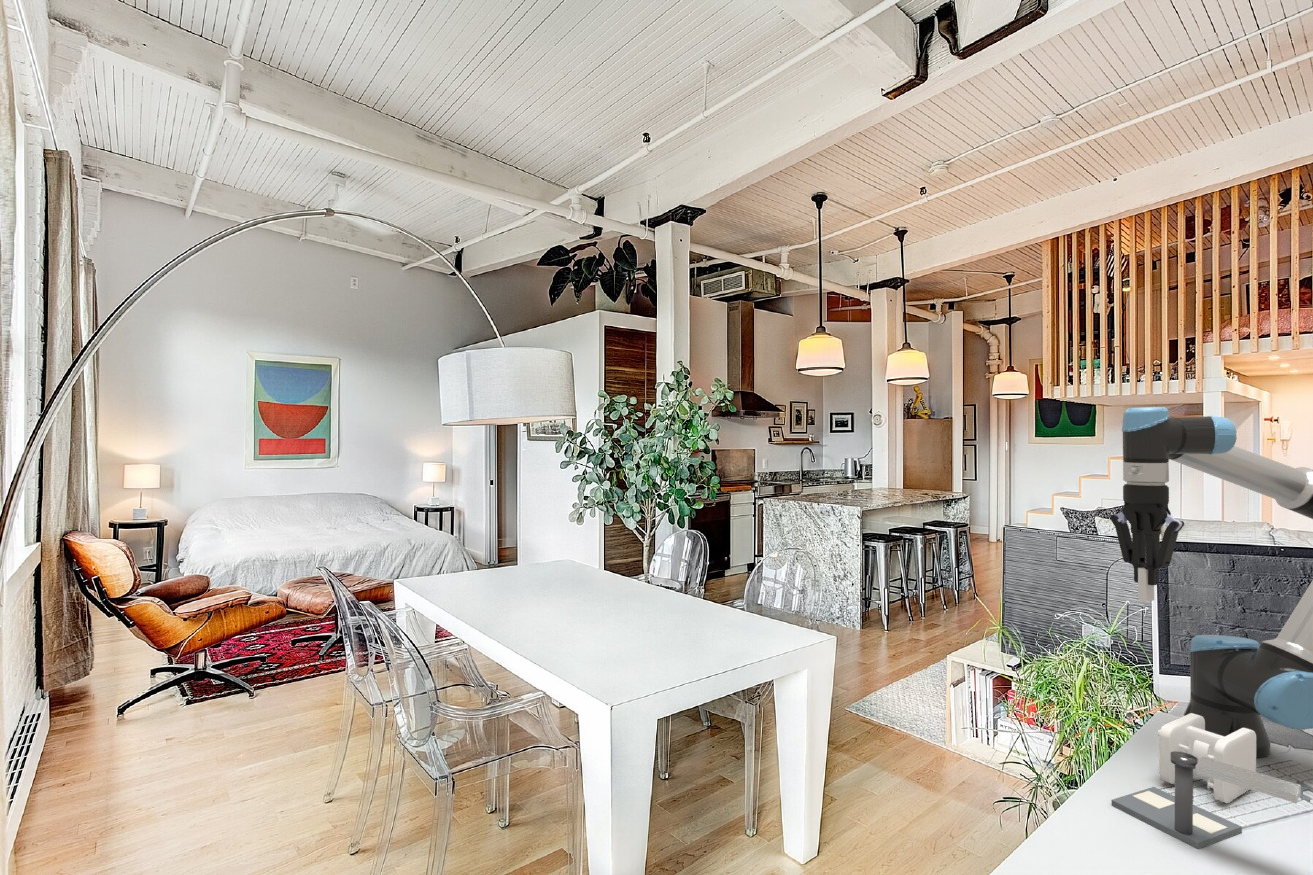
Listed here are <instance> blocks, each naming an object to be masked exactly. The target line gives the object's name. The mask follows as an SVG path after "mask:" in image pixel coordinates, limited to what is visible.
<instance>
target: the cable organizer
mask: <svg viewBox="0 0 1313 875" xmlns="http://www.w3.org/2000/svg"><path fill="white" fill-rule="evenodd" d="M1157 737H1158V738H1159V740H1158V741H1159V742H1158V748H1159V749H1158V750H1159V752H1158V754H1159V755H1158V758H1159V759H1158V761H1159V763H1158V775H1159V779H1160V780H1161V781H1164V782H1166V783H1169V784H1171V785H1175V764H1173V763H1172V762H1171V761H1170V753H1171V752H1174V751H1178V752H1184V753H1188V754H1191V755H1193V756H1195V757H1196V758H1197V759H1198V762H1199V760H1200V759H1201V758H1202V757H1205V758H1209V759H1212V760H1216V761H1219V762H1223V763H1226V764H1230V765H1233V766H1237V767H1240V768H1243V769H1247V770H1250V771H1254V772H1257V757H1256V733H1255V731H1253V730H1250V729H1247V728H1241V729H1239V730H1237V731H1235V732H1233V733H1231V734H1229V735H1227V736H1225V737H1224V736H1221V735H1218V734H1215V733H1212V732H1208V731H1205V720H1204V718H1203V717H1202V716H1200V715H1196V714H1193V713H1190V714H1188V715H1185V716H1183V715H1182V716H1181V717H1178V718H1177V719H1173V720H1172V721H1169V722H1167V723H1165V724H1163V725H1162V726H1160V729H1158V730H1157ZM1194 777H1195V778H1197V779H1200V780H1203V781H1204V782H1207V786H1206V787H1207V788H1206V789H1207V790H1209V791H1210V790H1211V789H1213V796H1214V799H1216V800H1217V801H1219V802H1222V803H1223V802H1225V803H1228V802H1229V803H1231V802H1232V801H1234V800H1235V799H1236V798H1238V797H1240V796H1242V795H1244V794H1246V793H1247V792H1249V791H1250V790H1251V789H1248V788H1244V787H1241V786H1238V785H1235V784H1231V783H1228V782H1225V781H1221V780H1218V779H1215V778H1212V777H1208V776H1205V775H1202V774H1199V773H1196V769H1193V778H1194ZM1248 790H1249V791H1248ZM1246 791H1247V792H1246ZM1245 792H1246V793H1245ZM1243 793H1244V794H1243ZM1233 799H1234V800H1233ZM1230 801H1231V802H1230ZM1225 803H1224V804H1225ZM1229 803H1228V804H1229Z"/></svg>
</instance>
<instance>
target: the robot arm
mask: <svg viewBox="0 0 1313 875" xmlns="http://www.w3.org/2000/svg"><path fill="white" fill-rule="evenodd" d="M1121 432H1122V467H1123V468H1122V480H1123V481H1124V482H1126V483H1125V484H1124V485H1122V498H1123V499H1122V500H1123V506H1122V508H1121V511H1120V512H1119V513H1117V514H1111V515H1110V516H1109V519H1110V521H1111V522H1112V524H1113V526H1114V527H1115V528H1114V529H1115V532H1116V536H1117V539H1118V543H1119V547H1120V548H1119V549H1120V551H1121V556H1122V559H1123V561H1124V563H1128V564H1130V565H1132V567H1133V580H1134V583H1137V588H1138V589H1137V596H1138V597H1137V601H1140V602H1151V601H1155V586H1158V584H1159V570H1160V569H1162V568H1167V567H1169V566H1170V565H1171V560H1172V558H1173V554H1174V551H1175V547H1176V543H1177V539H1178V536H1179V533H1180V531H1181V530H1182V528H1184V526H1185V522H1184V521H1183V520H1178V519H1176V518H1175V517H1174V516H1172V515H1171V514H1172V513H1171V511H1170V509H1169V503H1170V487H1169V485H1166V484H1167V483H1168V482H1170V471H1169V470H1170V469H1169V466H1170V465H1169V463H1170V462H1169V461H1170V460H1171V461H1172V462H1176V463H1179V464H1181V465H1184V466H1187V467H1189V468H1192V469H1194V470H1197V471H1200V472H1202V473H1205V474H1208V475H1210V476H1212V477H1214V478H1215V477H1216V478H1218V479H1221V480H1223V481H1226V482H1228V483H1232V484H1234V485H1237V486H1239V487H1242V488H1243V489H1248V490H1250V491H1252V492H1256V494H1257V493H1258V494H1260V495H1264V496H1266V497H1269V498H1271V499H1273V500H1275V502H1276V504H1277V505H1279V506H1280V507H1281V508H1283V509H1287V510H1290V511H1292V512H1294V513H1297V514H1299V515H1302V516H1304V517H1307V518H1309V519H1312V520H1313V469H1311V468H1309V467H1305V466H1301V467H1300V466H1299V467H1292V466H1289V465H1287V464H1284V463H1282V462H1279V461H1276V460H1273V459H1270V458H1268V457H1265V456H1262V455H1260V454H1257V453H1254V452H1252V451H1249V450H1247V449H1244V448H1241V447H1238V446H1235V445H1236V442H1237V428H1236V426H1235V423H1234V422H1232V420H1230V419H1229V418H1226V417H1223V416H1213V415H1208V416H1179V417H1178V416H1175V417H1174V416H1170V413H1169V409H1168V408H1167V407H1165V406H1160V407H1159V406H1156V407H1155V406H1154V407H1153V406H1152V407H1150V406H1148V407H1141V406H1140V407H1129V408H1127V409H1125V410H1124V412H1123V418H1122V428H1121ZM1128 522H1129V524H1130V526H1129V524H1128ZM1164 525H1165V530H1164V531H1163V536H1162V539H1160V536H1161V533H1162V527H1163V526H1164ZM1129 527H1130V528H1129ZM1131 533H1132V535H1131ZM1160 540H1161V541H1160ZM1160 543H1161V544H1160ZM1189 654H1190V657H1189V658H1190V659H1189V661H1190V666H1189V667H1190V670H1189V671H1190V683H1189V684H1190V687H1189V688H1190V689H1189V690H1190V699H1189V702H1188V704H1187V707H1186V708H1185V711H1184V713H1183V715H1182V717H1183V716H1185V715H1188V714H1190V713H1193V714H1196V715H1200V716H1202V717H1203V718H1204V720H1205V731H1208V732H1212V733H1215V734H1218V735H1221V736H1224V737H1225V736H1227V735H1229V734H1231V733H1233V732H1235V731H1237V730H1239V729H1241V728H1247V729H1250V730H1253V731H1255V733H1256V758H1262V757H1263V758H1264V757H1267V756H1269V755H1271V740H1270V737H1269V734H1268V732H1267V730H1266V727H1265V724H1264V722H1263V719H1262V718H1264V719H1266V720H1268V721H1270V722H1272V723H1274V724H1278V725H1280V726H1283V727H1286V728H1288V729H1292V730H1298V731H1299V730H1300V731H1302V730H1309V729H1313V580H1312V581H1311V582H1310V584H1309V585H1308V587H1307V589H1306V590H1305V592H1304V593H1303V595H1302V597H1301V598H1300V600H1299V602H1298V603H1297V605H1296V606H1295V608H1294V609H1293V611H1292V613H1291V614H1290V616H1289V618H1287V621H1286V622H1285V624H1284V626H1283V627H1282V629H1281V631H1279V633H1278V635H1277V636H1276V638H1275V637H1274V638H1273V639H1267V640H1262V641H1261V643H1260V642H1259V641H1258V640H1255V639H1252V638H1246V637H1240V636H1234V635H1233V636H1232V635H1223V634H1222V635H1220V634H1197V635H1195V636H1193V637H1192V639H1191V641H1190V649H1189Z"/></svg>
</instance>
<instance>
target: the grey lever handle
mask: <svg viewBox="0 0 1313 875" xmlns="http://www.w3.org/2000/svg"><path fill="white" fill-rule="evenodd" d="M1170 761H1171V762H1172V763H1173V764H1175V765H1177V766H1180V767H1183V768H1188V769H1196V773H1199V774H1202V775H1205V776H1208V777H1212V778H1215V779H1218V780H1221V781H1225V782H1228V783H1231V784H1235V785H1238V786H1241V787H1244V788H1248V789H1250V790H1251V791H1255V792H1258V793H1261V794H1265V795H1267V796H1271V797H1273V798H1274V797H1275V798H1278V799H1282V800H1284V801H1287V802H1291V803H1293V804H1298V802H1299V801H1298V800H1299V798H1300V796H1301V794H1302V784H1298V783H1295V782H1292V781H1289V780H1285V779H1281V778H1278V777H1273V776H1270V775H1267V774H1264V773H1261V772H1257V771H1256V772H1254V771H1250V770H1247V769H1243V768H1240V767H1237V766H1233V765H1230V764H1226V763H1223V762H1219V761H1216V760H1212V759H1209V758H1205V757H1202V758H1201V759H1200V760H1199V762H1198V759H1197V758H1196V757H1195V756H1193V755H1191V754H1188V753H1184V752H1178V751H1174V752H1171V753H1170Z"/></svg>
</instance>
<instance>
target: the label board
mask: <svg viewBox="0 0 1313 875" xmlns="http://www.w3.org/2000/svg"><path fill="white" fill-rule="evenodd" d="M1111 806H1112V807H1115V808H1116V809H1118V810H1120V811H1121V812H1124V813H1126V814H1127V815H1130V816H1132V817H1134V818H1135V819H1138V820H1140V821H1142V822H1144V823H1146V824H1147V825H1150V826H1152V827H1154V828H1156V829H1157V830H1159V831H1162V832H1164V833H1165V834H1168V835H1170V836H1172V837H1174V838H1175V839H1177V840H1179V841H1181V842H1184V843H1185V844H1187V845H1189V846H1192V847H1193V848H1196V849H1197V850H1200V849H1202V848H1205V847H1207V846H1210V845H1213V844H1215V843H1218V842H1220V841H1223V840H1226V839H1228V838H1231V837H1234V836H1236V835H1239V834H1242V833H1243V826H1241V825H1239V824H1237V823H1235V822H1233V821H1230V820H1228V819H1226V818H1224V817H1221V816H1219V815H1217V814H1215V813H1212V812H1211V811H1208V810H1206V809H1204V808H1202V807H1199V806H1197V805H1195V804H1194V776H1193V769H1188V768H1183V767H1180V766H1177V765H1175V784H1174V794H1172V793H1171V794H1170V793H1168V792H1167V791H1164V790H1162V789H1160V788H1158V787H1155V786H1151V787H1147V788H1145V789H1142V790H1139V791H1136V792H1133V793H1129V794H1126V795H1122V796H1119V797H1116V798H1112V799H1111Z"/></svg>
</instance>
